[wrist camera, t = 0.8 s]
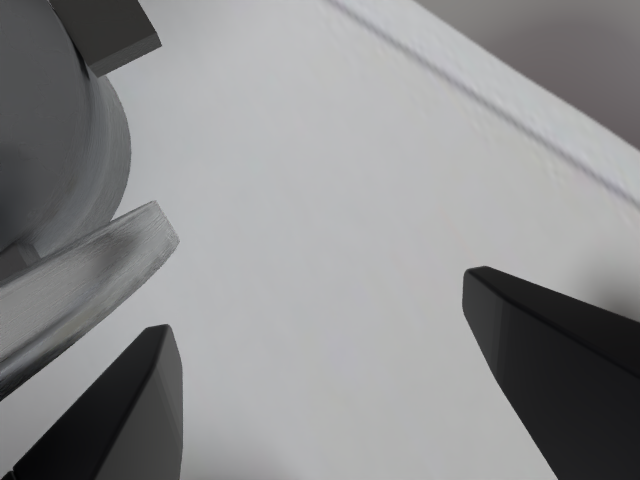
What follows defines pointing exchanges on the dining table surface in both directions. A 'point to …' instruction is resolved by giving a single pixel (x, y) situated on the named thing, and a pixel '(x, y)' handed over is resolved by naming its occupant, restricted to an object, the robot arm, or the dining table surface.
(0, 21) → the steel pot
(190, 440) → the dining table surface
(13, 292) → the pot lid
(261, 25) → the dining table surface
